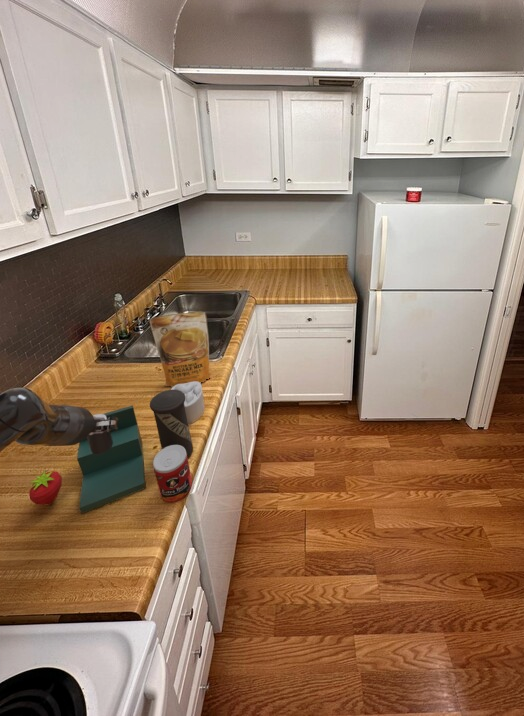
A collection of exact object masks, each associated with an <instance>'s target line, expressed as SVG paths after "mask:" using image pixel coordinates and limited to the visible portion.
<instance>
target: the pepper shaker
mask: <svg viewBox="0 0 524 716" xmlns="http://www.w3.org/2000/svg"><path fill="white" fill-rule="evenodd" d="M92 416H95V417H104V418H105V420H107V417H106V415H104V413H97V414H92ZM104 429H105V426H104ZM87 439H88V442H89V445H90V448H91V452H92V453H94V454H101V453H104V452H106V451H107V450H109V449H110V448H111V447H112V445H113V440H112V437H111V433H110V431H109V432H106V431H104V432H103V433H100V434H93V435H88V436H87Z"/></svg>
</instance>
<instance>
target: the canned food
mask: <svg viewBox="0 0 524 716" xmlns="http://www.w3.org/2000/svg"><path fill="white" fill-rule="evenodd" d="M152 464H153V465H152V467H153V472H154V475H155V479H156V483H157V487H158V492H159V495H160V497H161V499H162V500H163V501H165V502H166V503H176V502H178V501H180V500H182V499H184V498H185V497H186V496H187V495H188V494H189V492H190V490H191V488H192V483H193V479H192V475H191V469H190V464H189V458H187V453H186V450H185V448H184V447H183V446H180V445H171V446H168V447H165V448H164V449H161V450H159V451H158V452H157V453H156V455H154V458H153V460H152Z"/></svg>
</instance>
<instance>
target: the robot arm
mask: <svg viewBox="0 0 524 716" xmlns="http://www.w3.org/2000/svg"><path fill="white" fill-rule="evenodd" d="M104 426H105V429H104ZM117 429H118V418H117V417H114V416H111V417H109V418H108V420H105V418H104V417H95V416H93V413H92V412H90V410H89V409H87V408H85V407H80V406H74V405H68V404H54V403H49V402H47V401H45V400H43V399H42V397H41V396H39V395H38V394H37V393H36V392H35V391H33V390H32V389H31V388H28V387H21V386H20V387H13V388H10V389H7V390H4V391H2V392H1V393H0V453H1V452H2V451H4V450H5V449H6V448H8V447H9V446H10V445H12V444H13V443H14V442H15V443H17V444H19V445H22V446H23V445H24V446H40V445H41V446H44V447H67V446H75V445H79V443H80V442H81V441H83V440H84V439H85V438H86V437H87V436H88V435H93V434H100V433H103V432H104V431H106V432H109V431H115V430H117Z"/></svg>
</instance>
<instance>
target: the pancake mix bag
mask: <svg viewBox="0 0 524 716" xmlns="http://www.w3.org/2000/svg"><path fill="white" fill-rule="evenodd" d="M207 316H208V315H207V313H206V312H203V311H202V310H196V311H189V312H182V313H181V312H180V313H172V314H165V315H160V316H154V317H152V318H150V319H149V320H148V323H149V327H150V330H151V333H152V336H153V339H154V344H155V347H156V350H157V353H158V356H159V359H160V363H161V367H162V369H163V372H164V379H165V384H164V385H165V387H170V388H172V387H174V386H175V385H177V384H183V383H189V382H193V381H197V382H204V381H206V382H207V380H206V379H208V380H210V379H212V377H211V374H210V342H209V341H210V337H209V336H210V335H209V327H208V317H207ZM209 378H210V379H209ZM204 383H205V382H204Z"/></svg>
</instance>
